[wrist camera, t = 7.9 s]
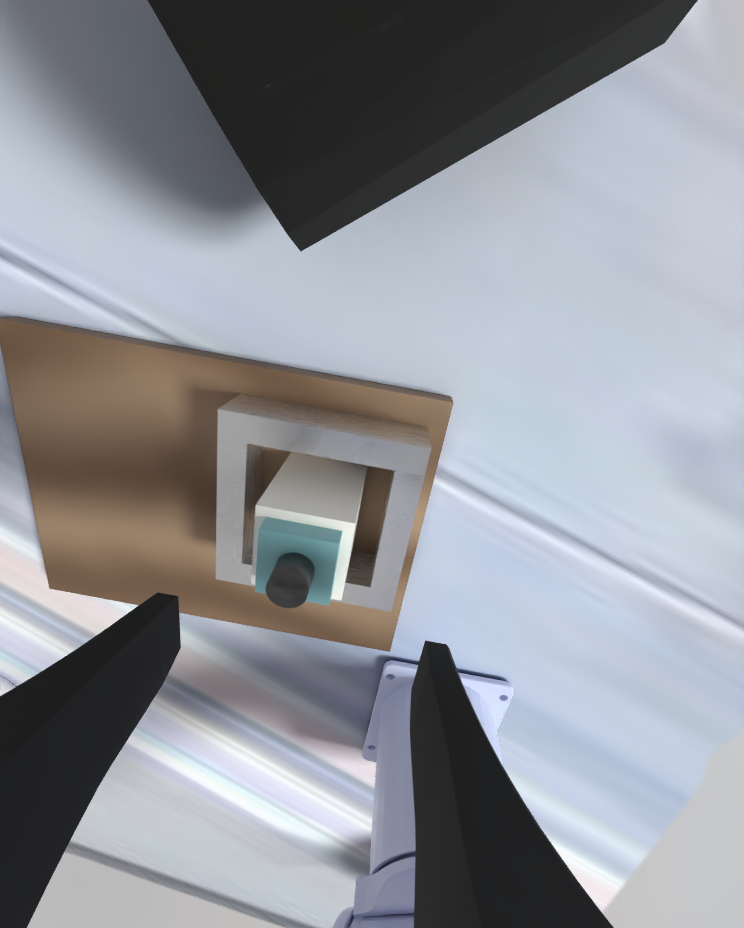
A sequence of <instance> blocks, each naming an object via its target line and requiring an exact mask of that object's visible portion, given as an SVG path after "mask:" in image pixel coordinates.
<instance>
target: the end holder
mask: <svg viewBox="0 0 744 928" xmlns="http://www.w3.org/2000/svg"><path fill="white" fill-rule="evenodd" d="M265 447H270V448H275V449H281V450H286V451H291V452H297V453H302V454H308V455H313V456H319V457H324V458H329V459H335V460H340V461H346V462H351V463H356V464H362V465H367V466H373V467H378V468H384V469H389V470H392V472H391V476H390V481H389V486H388V491H387V496H386V501H385V505H384V510H383V515H382V520H381V525H380V530H379V534H378V539H377V544H376V549H375V554H370V553H364V552H359V551H353V550H352V552H351V557H350V561H349V566H348V571H347V576H346V581H345V586H344V591H343V596H342V600H341V601H340V600H335V599H331V601H336V602H342V603H347V604H352V605H358V606H363V607H369V608H374V609H379V610H385V611H390V612H391V611H392V607H393V603H394V599H395V595H396V591H397V587H398V583H399V579H400V575H401V571H402V566H403V562H404V558H405V554H406V550H407V546H408V542H409V538H410V534H411V530H412V526H413V522H414V517H415V513H416V509H417V505H418V501H419V497H420V493H421V489H422V485H423V481H424V477H425V472H426V468H427V464H428V460H429V456H430V452H431V443H430V436H429V429H428V427H422V426H417V425H411V424H406V423H400V422H395V421H390V420H384V419H379V418H373V417H368V416H362V415H357V414H352V413H346V412H341V411H335V410H330V409H324V408H319V407H314V406H308V405H303V404H297V403H292V402H286V401H281V400H276V399H270V398H265V397H259V396H254V395H248V394H243V393H241V394H239V395H238V396H236V397H235V398H233V399H232V400H231V401H229V402H228V403H226V404H225V405H223V406H222V407H220V408H219V409H218V432H217V513H216V579H218V580H223V581H228V582H234V583H239V584H245V585H250V586H255V584H251V574H252V558H253V541H254V524H255V508H256V504H257V502H258V501H259V499H260V498H261V496H262V484H263V468H264V453H265Z"/></svg>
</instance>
